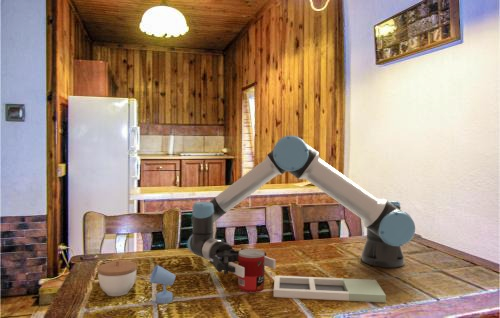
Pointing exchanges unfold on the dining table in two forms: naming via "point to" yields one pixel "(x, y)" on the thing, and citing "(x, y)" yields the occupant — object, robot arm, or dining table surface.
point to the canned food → (252, 270)
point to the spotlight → (163, 278)
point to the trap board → (328, 288)
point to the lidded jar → (117, 277)
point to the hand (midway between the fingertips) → (259, 268)
